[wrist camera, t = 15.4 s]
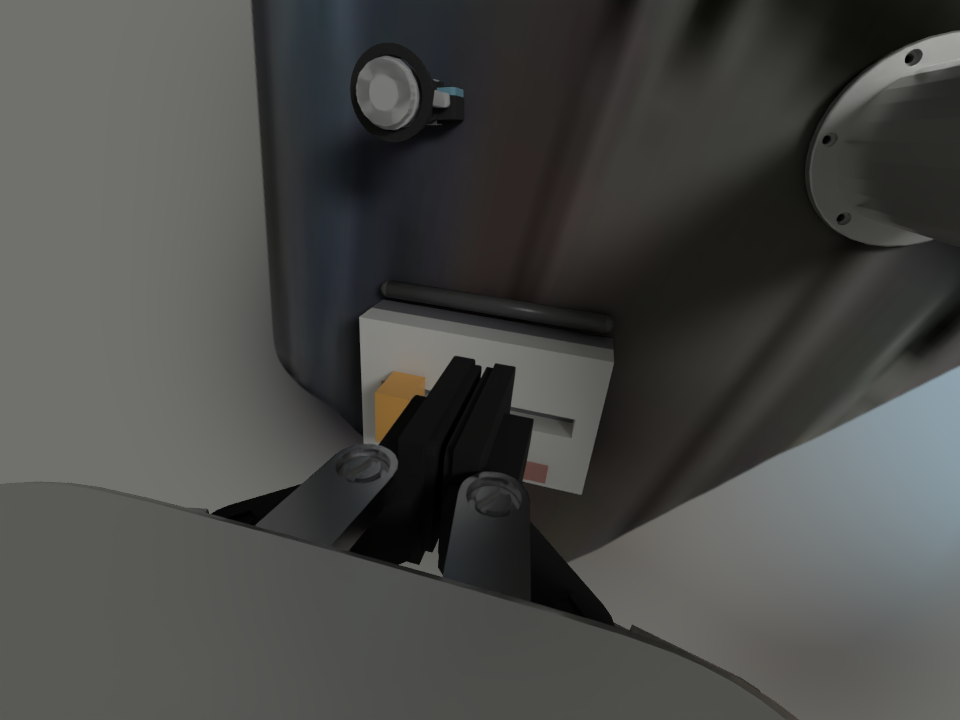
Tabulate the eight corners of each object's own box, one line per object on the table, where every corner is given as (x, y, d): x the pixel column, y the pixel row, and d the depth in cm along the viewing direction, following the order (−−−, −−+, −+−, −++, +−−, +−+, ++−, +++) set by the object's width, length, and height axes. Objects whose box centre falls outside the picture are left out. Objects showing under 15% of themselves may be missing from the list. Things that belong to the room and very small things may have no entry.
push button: (392, 142, 38) (330, 143, 30) (385, 66, 36) (316, 44, 27) (469, 140, 37) (428, 141, 28) (467, 62, 35) (422, 36, 26)
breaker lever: (434, 365, 43) (408, 399, 37) (431, 410, 45) (407, 448, 40) (403, 359, 44) (374, 392, 38) (403, 404, 46) (375, 441, 40)
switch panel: (618, 314, 40) (620, 337, 35) (583, 461, 47) (581, 496, 43) (382, 276, 44) (357, 292, 39) (384, 418, 51) (362, 446, 47)
